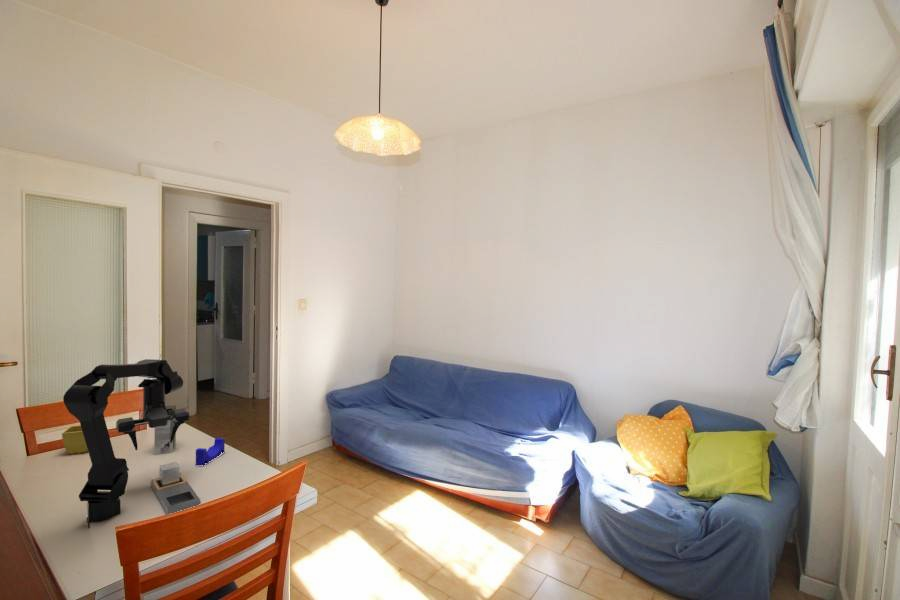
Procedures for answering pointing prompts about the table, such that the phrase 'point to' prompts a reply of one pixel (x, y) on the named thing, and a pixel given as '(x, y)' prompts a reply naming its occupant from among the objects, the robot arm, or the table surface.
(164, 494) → the slotted holder
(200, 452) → the blue notched block
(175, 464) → the light grey block
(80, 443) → the flower pot
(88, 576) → the table surface
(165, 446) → the coffee box
